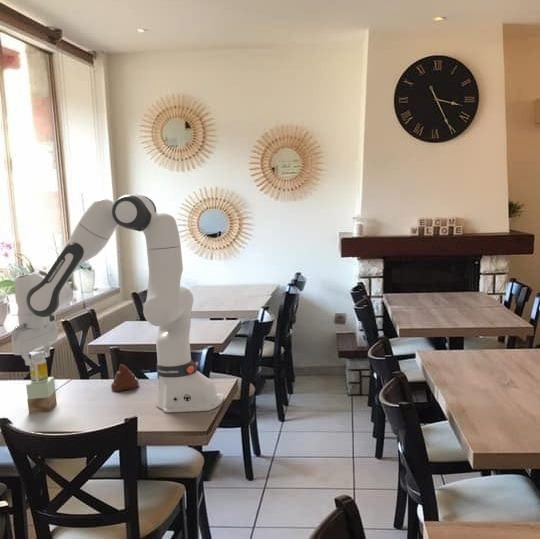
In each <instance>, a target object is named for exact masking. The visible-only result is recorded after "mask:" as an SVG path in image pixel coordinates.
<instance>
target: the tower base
mask: <svg viewBox="0 0 540 539" xmlns="http://www.w3.org/2000/svg"><path fill="white" fill-rule="evenodd" d="M26 401H27V407H28V409H27V410H28V414H36V413H47V412H49V413H50V412H51V411H52V410H53V409H54V408H55V407H56V406H57V404H58V403H57V393H56V390H55V391H54V393H53V394H52V395H51V396H50V397H48V398H36V399H28V398H27V400H26Z"/></svg>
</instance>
